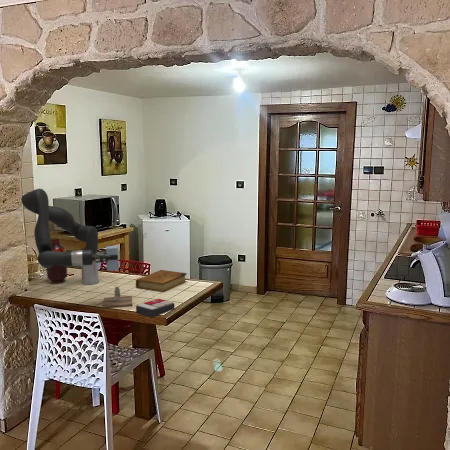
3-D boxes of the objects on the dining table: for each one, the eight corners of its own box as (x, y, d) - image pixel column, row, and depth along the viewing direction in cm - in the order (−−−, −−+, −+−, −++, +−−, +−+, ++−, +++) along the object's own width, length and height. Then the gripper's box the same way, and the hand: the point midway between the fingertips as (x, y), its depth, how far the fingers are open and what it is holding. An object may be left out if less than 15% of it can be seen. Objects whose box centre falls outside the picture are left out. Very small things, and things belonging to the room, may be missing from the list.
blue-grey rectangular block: (107, 268, 230) (106, 246, 228) (118, 267, 231) (117, 245, 230) (107, 270, 225) (106, 248, 223) (118, 270, 226) (117, 248, 224)
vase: (71, 279, 275) (68, 236, 271) (60, 284, 265) (57, 240, 261) (55, 278, 278) (52, 235, 274) (43, 283, 267) (40, 239, 263)
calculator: (175, 301, 221) (152, 308, 209) (174, 310, 222) (152, 317, 210) (158, 297, 228) (135, 304, 216) (158, 306, 228) (135, 313, 216)
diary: (160, 279, 277) (160, 269, 276) (186, 282, 268) (186, 273, 267) (135, 288, 257) (135, 278, 256) (163, 293, 248) (163, 282, 247)
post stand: (103, 299, 236) (103, 284, 235) (131, 297, 239) (131, 282, 238) (102, 308, 223) (101, 292, 222) (132, 306, 226) (131, 290, 225)
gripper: (80, 253, 217) (117, 251, 220) (83, 247, 231) (117, 245, 234) (81, 269, 218) (118, 266, 221) (84, 262, 232) (118, 260, 235)
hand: (117, 256), depth 228 cm, fingers closed on blue-grey rectangular block, 5 cm apart
